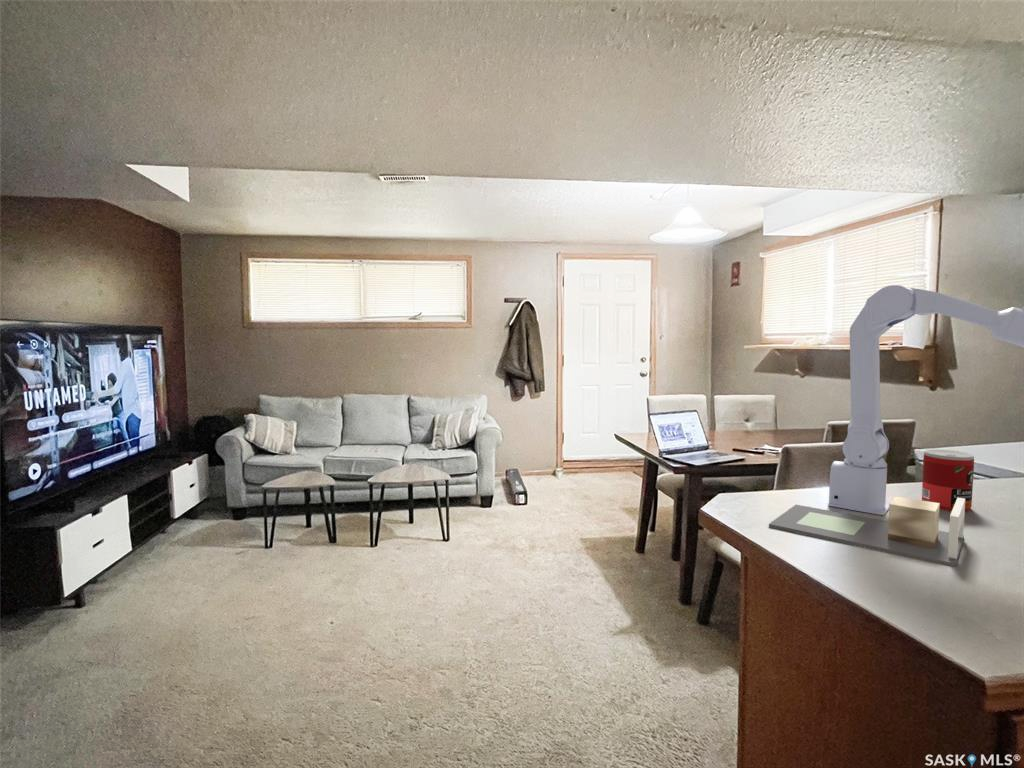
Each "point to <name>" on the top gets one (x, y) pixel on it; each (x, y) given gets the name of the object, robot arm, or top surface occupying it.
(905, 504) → the birch cube
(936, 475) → the canned food
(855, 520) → the rubber mat
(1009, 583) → the top surface
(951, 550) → the gate
